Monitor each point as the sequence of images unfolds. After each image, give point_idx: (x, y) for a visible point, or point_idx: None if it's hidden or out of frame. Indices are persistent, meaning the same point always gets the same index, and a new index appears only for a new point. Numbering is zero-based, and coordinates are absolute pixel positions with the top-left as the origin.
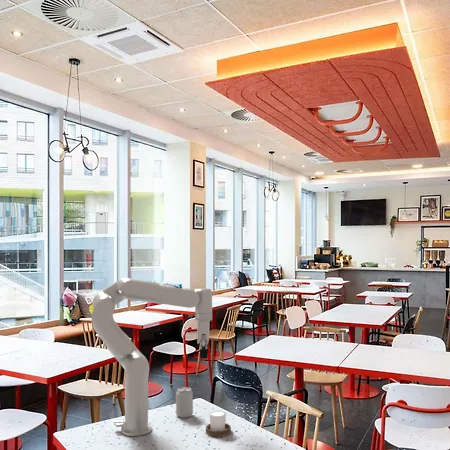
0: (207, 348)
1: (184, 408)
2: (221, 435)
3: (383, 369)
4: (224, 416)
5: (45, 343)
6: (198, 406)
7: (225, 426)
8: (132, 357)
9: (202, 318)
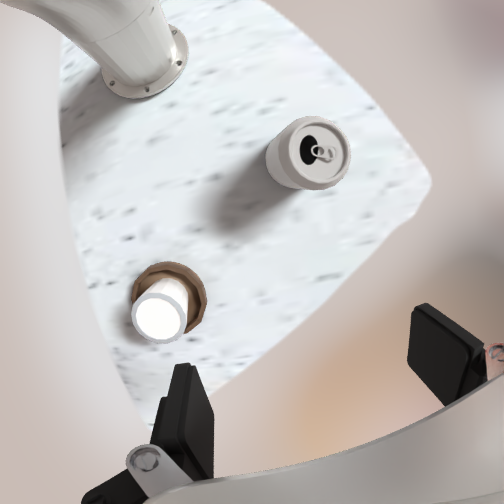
0: (431, 388)
1: (270, 163)
2: None
3: None
4: (151, 338)
5: None
6: (379, 191)
7: (198, 314)
8: None
9: None
